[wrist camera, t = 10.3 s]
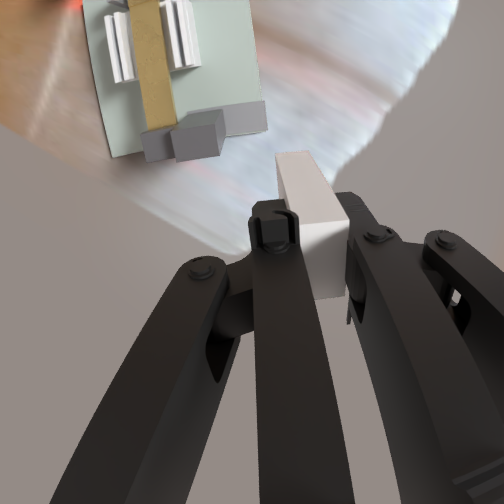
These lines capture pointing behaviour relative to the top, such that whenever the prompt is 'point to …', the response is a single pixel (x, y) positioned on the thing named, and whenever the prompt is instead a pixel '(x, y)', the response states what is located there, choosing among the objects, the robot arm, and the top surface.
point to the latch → (187, 138)
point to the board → (177, 66)
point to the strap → (152, 63)
